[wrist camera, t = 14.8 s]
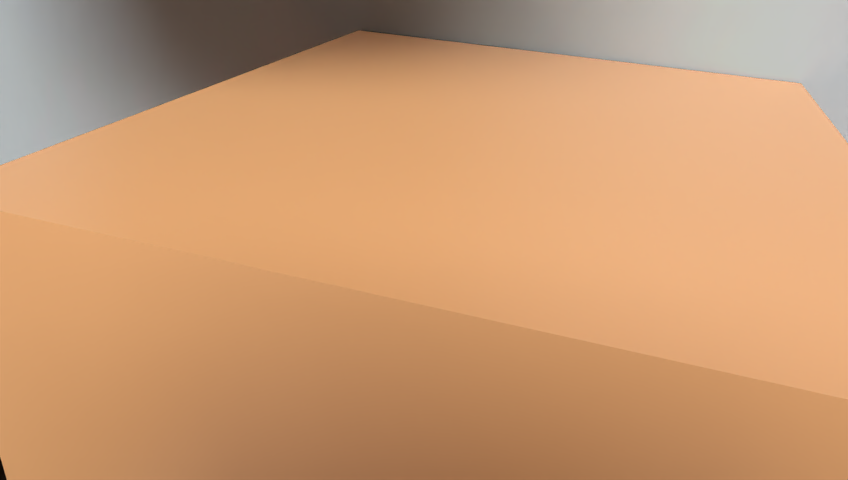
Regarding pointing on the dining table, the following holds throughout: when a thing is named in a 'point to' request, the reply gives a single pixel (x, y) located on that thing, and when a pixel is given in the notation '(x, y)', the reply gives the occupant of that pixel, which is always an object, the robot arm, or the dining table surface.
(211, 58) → the dining table surface
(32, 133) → the dining table surface
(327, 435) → the tan wooden brick
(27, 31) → the dining table surface
